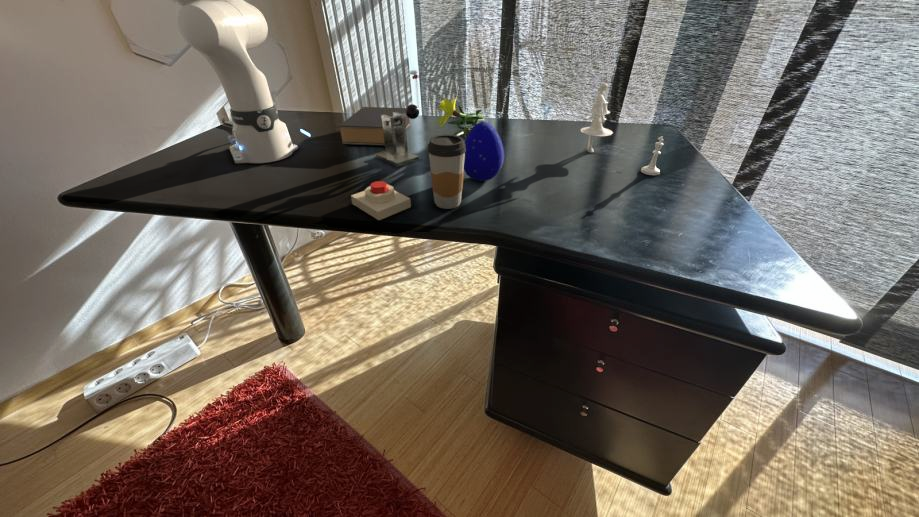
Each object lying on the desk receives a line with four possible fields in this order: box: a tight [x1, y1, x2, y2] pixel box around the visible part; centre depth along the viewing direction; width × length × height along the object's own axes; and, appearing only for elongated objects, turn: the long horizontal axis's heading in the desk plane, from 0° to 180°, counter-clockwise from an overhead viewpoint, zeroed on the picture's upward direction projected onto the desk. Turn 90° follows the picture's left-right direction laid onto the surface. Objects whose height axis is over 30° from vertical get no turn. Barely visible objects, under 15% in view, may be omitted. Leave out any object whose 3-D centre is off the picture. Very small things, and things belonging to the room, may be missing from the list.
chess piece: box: [640, 135, 665, 176], centre depth 98 cm, size 5×5×10 cm
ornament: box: [464, 121, 506, 182], centre depth 92 cm, size 11×9×15 cm
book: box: [338, 106, 411, 146], centre depth 125 cm, size 17×25×7 cm
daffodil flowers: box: [435, 86, 490, 140], centre depth 116 cm, size 17×15×35 cm
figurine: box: [580, 82, 614, 154], centre depth 109 cm, size 13×10×20 cm
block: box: [350, 184, 412, 221], centre depth 83 cm, size 11×9×4 cm
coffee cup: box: [427, 134, 466, 210], centre depth 81 cm, size 8×8×15 cm
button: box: [370, 180, 388, 194], centre depth 82 cm, size 4×4×2 cm
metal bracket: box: [375, 112, 420, 168], centre depth 105 cm, size 11×8×13 cm
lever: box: [392, 103, 420, 126], centre depth 98 cm, size 13×4×4 cm, turn 45°
